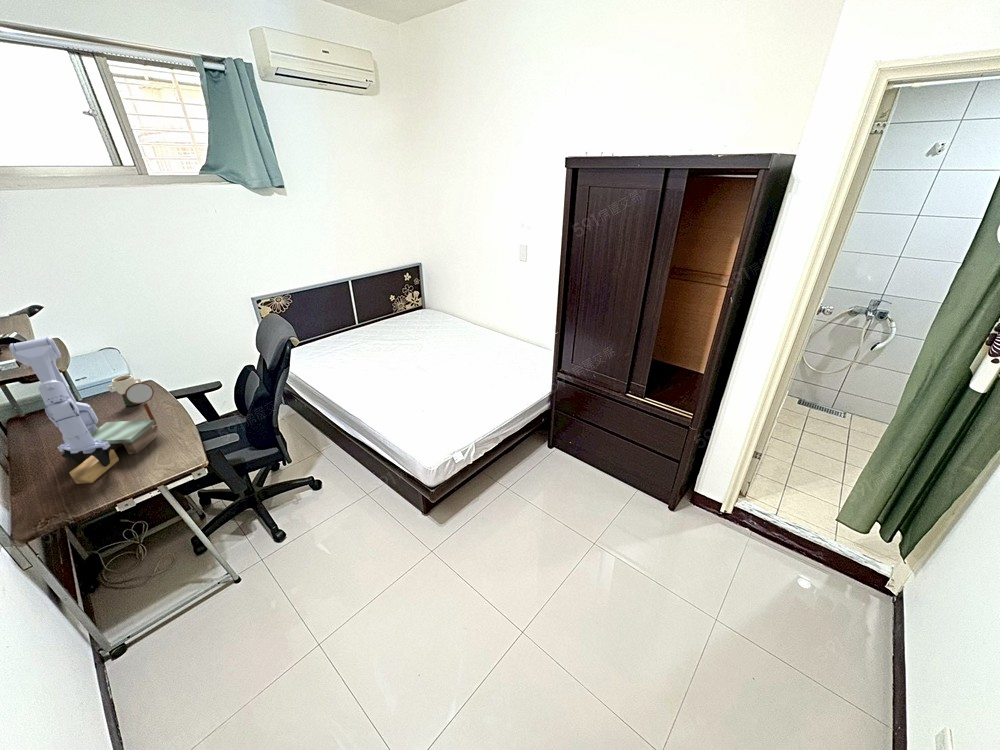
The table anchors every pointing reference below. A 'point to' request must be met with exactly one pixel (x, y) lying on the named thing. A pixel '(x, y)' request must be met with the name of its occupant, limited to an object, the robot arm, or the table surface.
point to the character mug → (123, 386)
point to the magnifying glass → (140, 396)
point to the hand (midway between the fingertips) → (95, 465)
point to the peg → (92, 469)
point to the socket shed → (126, 434)
